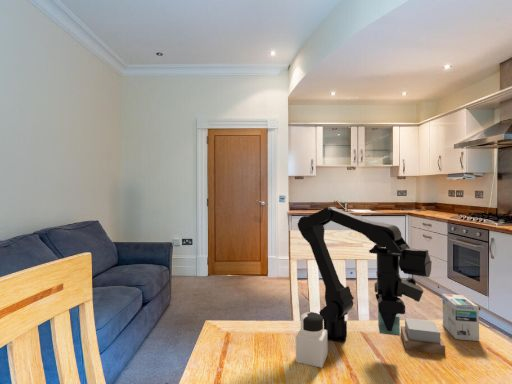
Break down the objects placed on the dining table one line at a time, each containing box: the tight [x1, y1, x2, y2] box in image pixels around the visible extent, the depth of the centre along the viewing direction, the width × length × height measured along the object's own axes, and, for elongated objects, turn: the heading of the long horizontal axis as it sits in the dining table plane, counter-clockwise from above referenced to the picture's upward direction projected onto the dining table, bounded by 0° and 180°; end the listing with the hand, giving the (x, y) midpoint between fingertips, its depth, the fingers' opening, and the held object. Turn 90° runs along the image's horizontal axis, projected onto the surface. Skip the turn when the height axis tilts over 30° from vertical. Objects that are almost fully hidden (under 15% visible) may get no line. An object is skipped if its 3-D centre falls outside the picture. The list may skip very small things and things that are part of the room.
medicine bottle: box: [295, 311, 329, 368], centre depth 84 cm, size 7×7×12 cm
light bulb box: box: [441, 293, 480, 342], centre depth 98 cm, size 11×7×11 cm, turn 168°
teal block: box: [377, 310, 401, 337], centre depth 85 cm, size 5×5×5 cm
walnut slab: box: [400, 325, 446, 355], centre depth 92 cm, size 10×10×3 cm
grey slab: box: [404, 317, 441, 343], centre depth 92 cm, size 8×8×3 cm
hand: (388, 326), depth 85 cm, fingers closed on teal block, 5 cm apart
